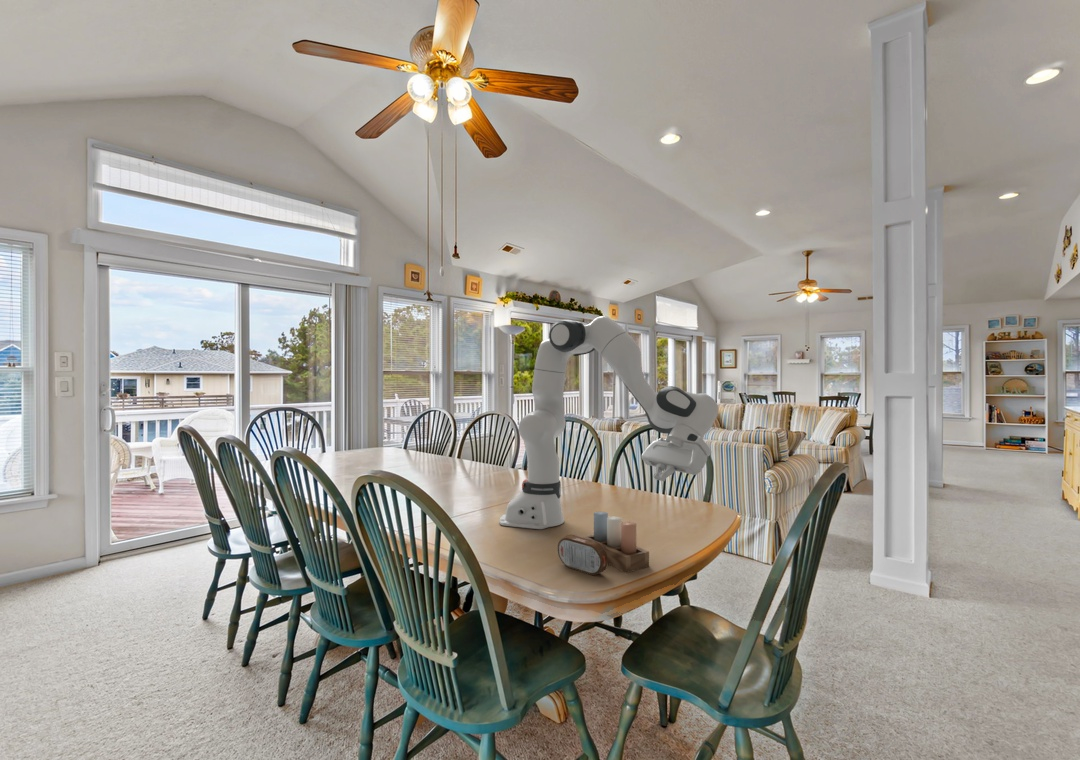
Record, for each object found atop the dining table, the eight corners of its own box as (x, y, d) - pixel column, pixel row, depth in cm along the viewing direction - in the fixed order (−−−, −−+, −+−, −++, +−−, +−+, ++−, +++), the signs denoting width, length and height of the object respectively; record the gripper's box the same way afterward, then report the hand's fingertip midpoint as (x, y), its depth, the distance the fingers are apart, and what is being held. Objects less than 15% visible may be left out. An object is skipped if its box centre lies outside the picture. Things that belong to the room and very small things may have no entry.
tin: (608, 576, 129) (608, 543, 129) (601, 579, 127) (601, 546, 127) (563, 561, 139) (562, 531, 139) (555, 565, 137) (555, 533, 137)
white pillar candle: (606, 549, 139) (606, 520, 139) (607, 544, 143) (607, 516, 143) (621, 549, 139) (621, 520, 139) (621, 545, 143) (621, 516, 143)
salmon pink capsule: (621, 555, 134) (621, 525, 134) (621, 550, 138) (621, 521, 138) (636, 556, 134) (636, 526, 133) (636, 551, 138) (636, 521, 137)
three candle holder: (649, 566, 135) (649, 551, 135) (626, 572, 131) (626, 557, 131) (604, 546, 151) (604, 532, 151) (582, 551, 147) (582, 537, 147)
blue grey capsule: (593, 543, 144) (593, 515, 144) (594, 538, 148) (594, 511, 148) (607, 543, 144) (607, 515, 144) (607, 539, 148) (607, 511, 148)
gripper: (651, 431, 154) (627, 466, 149) (705, 438, 137) (680, 478, 132) (662, 444, 156) (638, 479, 151) (716, 453, 139) (692, 493, 134)
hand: (658, 479), depth 141 cm, fingers closed
